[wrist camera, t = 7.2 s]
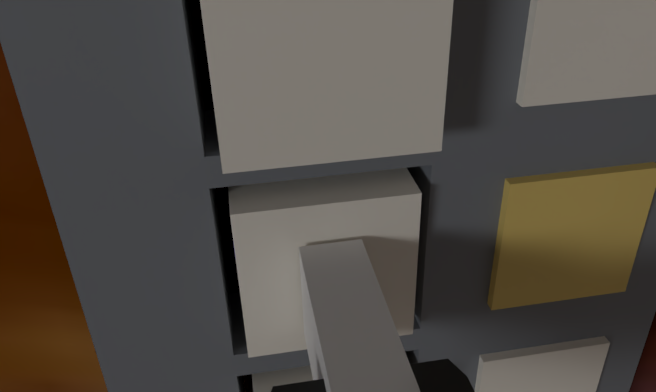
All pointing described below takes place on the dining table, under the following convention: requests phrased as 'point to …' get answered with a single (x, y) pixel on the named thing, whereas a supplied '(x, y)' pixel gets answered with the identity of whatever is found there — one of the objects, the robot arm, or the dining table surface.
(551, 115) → the board
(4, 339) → the dining table surface
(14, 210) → the dining table surface
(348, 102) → the button
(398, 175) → the button
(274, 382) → the button
